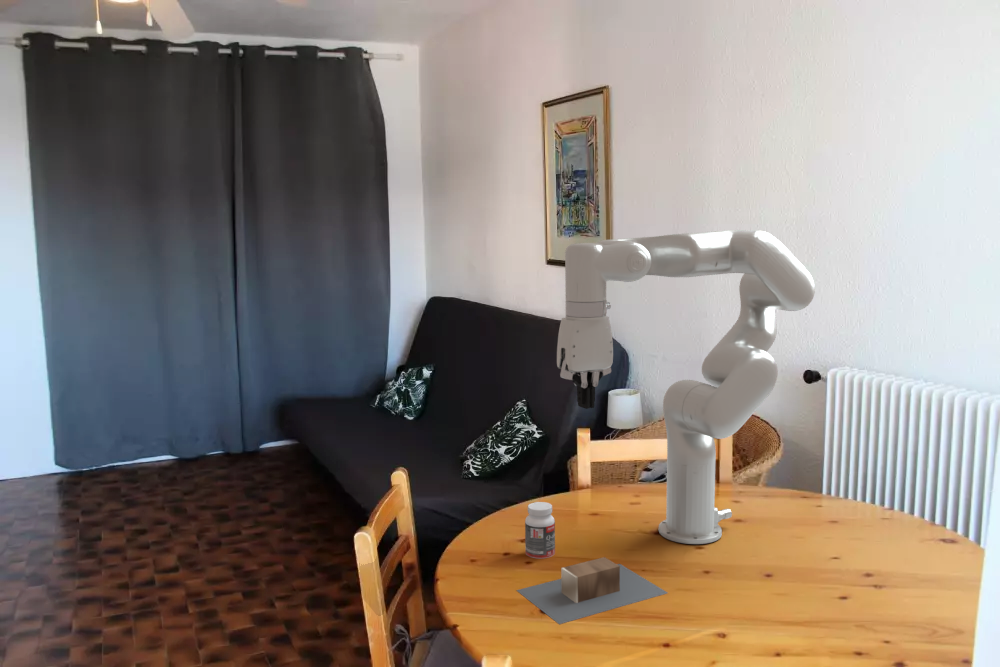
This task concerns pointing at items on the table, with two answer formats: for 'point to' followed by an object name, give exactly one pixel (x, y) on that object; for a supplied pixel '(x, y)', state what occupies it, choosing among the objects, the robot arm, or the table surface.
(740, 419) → the robot arm
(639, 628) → the table surface
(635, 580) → the mat
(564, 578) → the block
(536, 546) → the pill bottle
